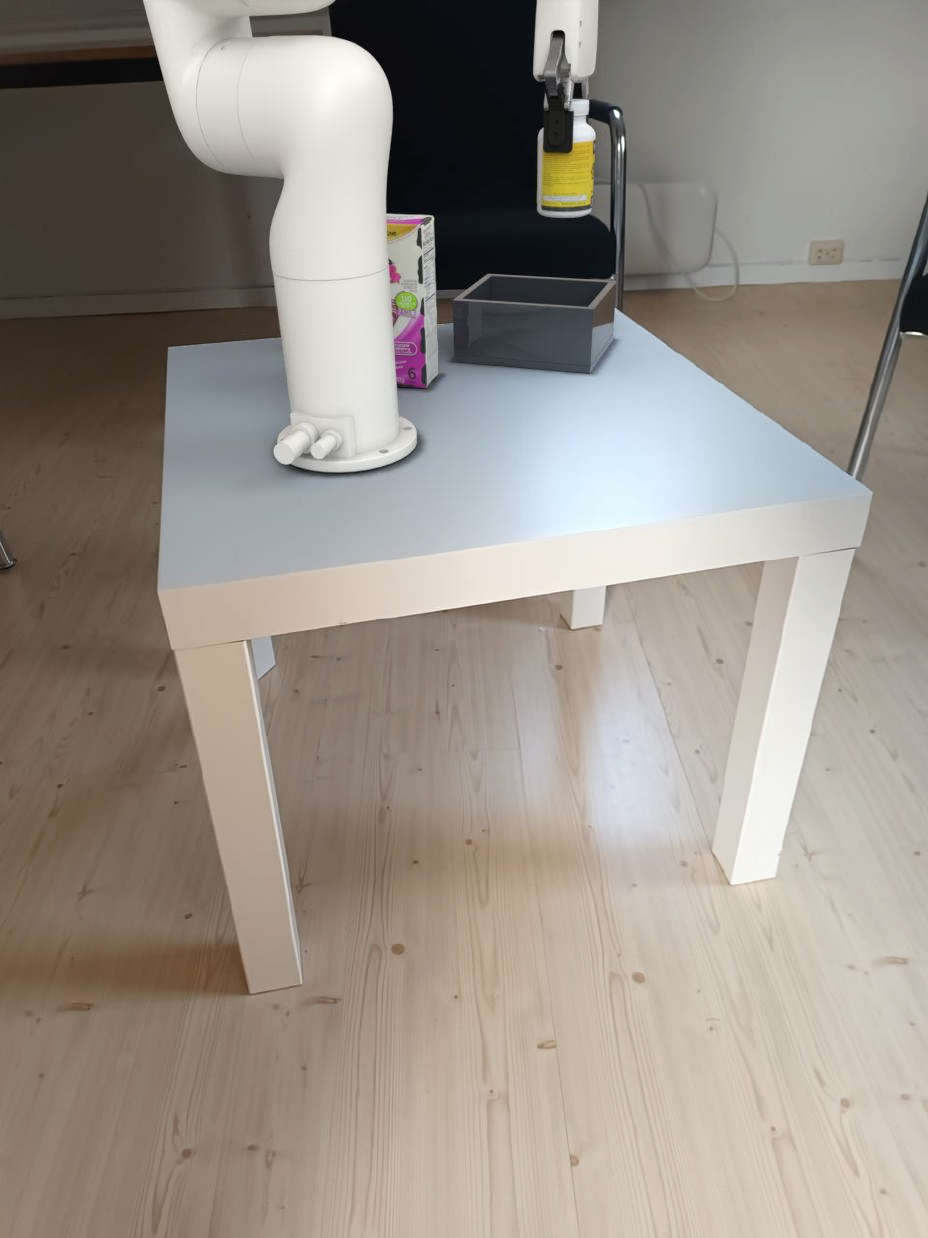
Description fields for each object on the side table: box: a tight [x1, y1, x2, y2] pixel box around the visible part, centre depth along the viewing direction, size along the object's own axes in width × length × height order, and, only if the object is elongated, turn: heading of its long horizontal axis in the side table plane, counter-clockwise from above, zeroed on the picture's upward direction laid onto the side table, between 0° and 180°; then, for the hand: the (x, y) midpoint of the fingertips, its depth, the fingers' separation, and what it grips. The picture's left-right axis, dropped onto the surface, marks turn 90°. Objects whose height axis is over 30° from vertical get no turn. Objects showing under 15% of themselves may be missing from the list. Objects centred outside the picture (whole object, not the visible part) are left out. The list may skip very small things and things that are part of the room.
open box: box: [452, 273, 617, 374], centre depth 105 cm, size 13×16×7 cm
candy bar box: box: [386, 213, 440, 389], centre depth 95 cm, size 11×5×16 cm, turn 76°
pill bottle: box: [536, 99, 597, 219], centre depth 104 cm, size 6×6×12 cm
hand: (565, 146), depth 104 cm, fingers closed on pill bottle, 6 cm apart
